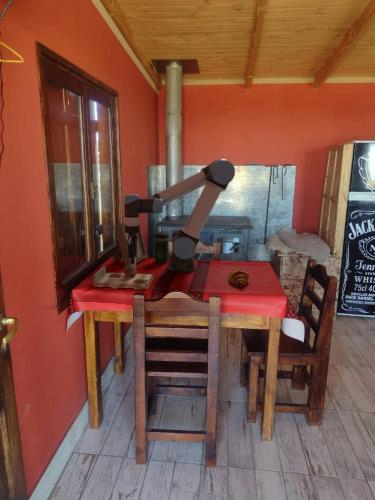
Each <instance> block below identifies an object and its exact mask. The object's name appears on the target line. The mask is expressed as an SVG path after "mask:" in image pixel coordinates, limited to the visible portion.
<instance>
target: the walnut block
mask: <svg viewBox="0 0 375 500" xmlns="http://www.w3.org/2000/svg"><path fill="white" fill-rule="evenodd" d="M123 273H124V277H125V278H134V277H135V276H136V274H137V264H136V265H126V266H125V265H124V267H123Z"/></svg>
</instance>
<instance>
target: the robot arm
mask: <svg viewBox="0 0 375 500" xmlns="http://www.w3.org/2000/svg"><path fill="white" fill-rule="evenodd" d="M235 175H236V168H235V166H234V164H233V163H232V162H231V161H230V160H228V159H225V158H220V159H216V160H213V161H212V162H210V163H209V164H208V165H206V166H205V167H202V168H201V169H200V171H199V172H196V173H195V174H192V175H191V176H189V177H187V178H185V179H183V180H181V181H179V182H177V183H175V184H172V185H171V186H168V187H167V188H165V189H163V190H161V191H158V192H157V193H155V194H152V195H149V196H147V198H140V195H139V194H137V193H128V194H125V195H124V197H123V211H124V212H123V215H124V216H123V221H124V222H125V233H128V234H129V236H128V241H127V245H128V254H129V257H128V258H130V265H136V266H137V263H136V257H137V239H138V236H136V233H139V232H140V228H141V225H140V226H139V224H140V214H153V215H157V214H163V212H164V206H166V205H169V204H170V203H172V202H174V201H177V200H178V199H179V198H182V197H183V196H186V195H188V194H191V193H192V192H194V191H196V190H199V189H200V188H203V189H202V190H201V193H200V195H199V197H198V199H197V200H196V203H195V205H194V207H193V209H192V211H191V213H190V215H189V217H188V219H187V221H186V223H185V225H184V226H183V227H180V228H174V229H173V230H172V232H171V240H172V241H171V245H172V246H171V247H172V249H171V251H172V252H171V253H172V254H171V255H172V256H171V258H170V262H169V264H168V266H169V267H168V269H169V271H171V272H174V273H178V274H179V273H191V272H195V271H196V270H197V268H196V267H197V266H196V262H195V259H194V256H195V253H196V250H197V247H198V244H199V243H200V240H201V235H200V234H201V232H202V231H203V228H204V226H205V224H206V222H207V220H208V218H209V216H210V215H211V212H212V211H213V208H214V207H215V204H216V203H217V201H218V199H219V197H220V195H221V193H222V192H225V191H226V190H227V188H228V186H229V184H230V182H232V181H233V180H234V178H235Z"/></svg>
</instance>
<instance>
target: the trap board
mask: <svg viewBox="0 0 375 500" xmlns="http://www.w3.org/2000/svg"><path fill="white" fill-rule="evenodd" d="M106 269H107V267H106V266H105V265H104V266H102V267H101V268H100V269H99V270H98V271H96V272H95V274H93V275H92V279H93V284H92V285H93V287H94V286H98V287H111V288H110V289H117V288H134V289H133V290H142V289H147V290H148V289H149V288H150V286H151V284H152V282H153V280H154V274H153V273H152V274H148V273H147V274H146V273H136V276H135V277H134V278H125V277H124V272H121V273H120V272H119V273H118V272H116V273H115V272H107V270H106ZM112 277H113V278H112Z"/></svg>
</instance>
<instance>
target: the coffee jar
mask: <svg viewBox="0 0 375 500" xmlns="http://www.w3.org/2000/svg"><path fill="white" fill-rule="evenodd" d="M169 242H170V234H169V232H168V231H165V230H163V231H159V232H157V233H155V234H154V262H155V263H157V264H166V263H168V262H169V260H170V257H169V256H170V251H169V249H170V248H169V246H170V243H169Z"/></svg>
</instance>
